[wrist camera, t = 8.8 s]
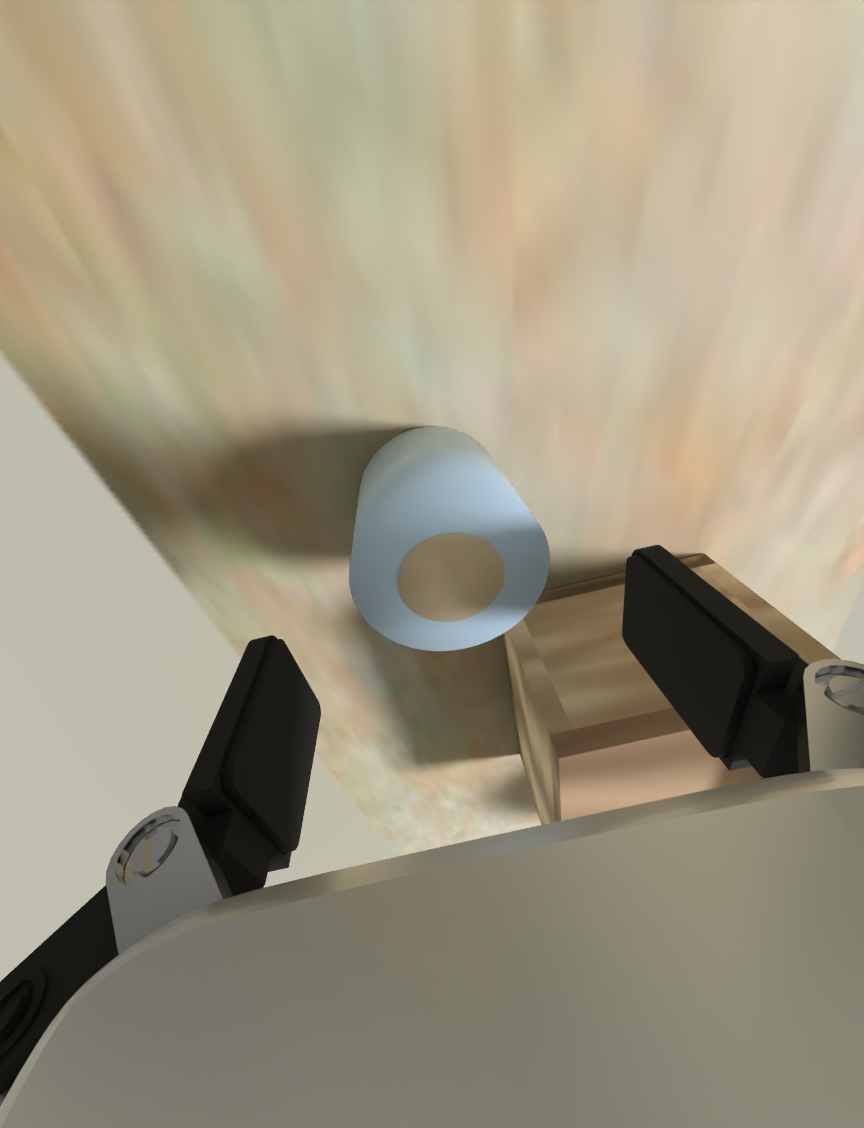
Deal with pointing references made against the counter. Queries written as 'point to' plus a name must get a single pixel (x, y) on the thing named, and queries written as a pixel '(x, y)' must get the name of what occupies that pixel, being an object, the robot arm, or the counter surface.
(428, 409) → the counter surface
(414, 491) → the pale blue rounded block
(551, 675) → the crate
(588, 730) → the lid
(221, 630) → the counter surface
